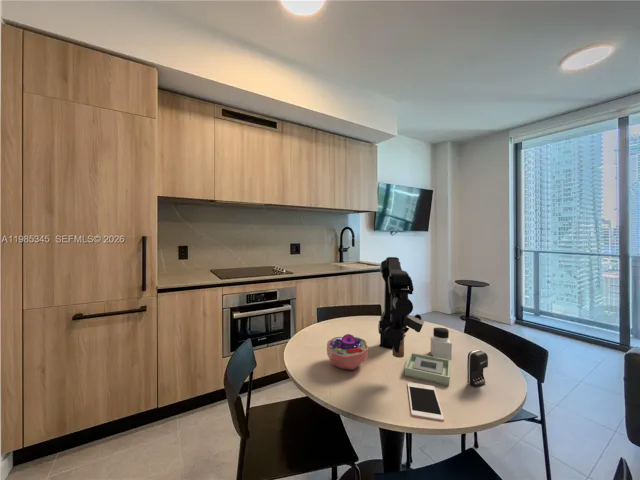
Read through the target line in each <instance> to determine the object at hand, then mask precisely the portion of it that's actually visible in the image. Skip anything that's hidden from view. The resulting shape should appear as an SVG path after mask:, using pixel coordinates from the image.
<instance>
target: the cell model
mask: <svg viewBox="0 0 640 480" xmlns="http://www.w3.org/2000/svg"><path fill="white" fill-rule="evenodd" d="M369 348H370V347H369V346H368V344H367V341H366V340H365V339H363V338H360V337H359V336H358V337H357V336H354V335H352V334H349V333H348V334H347V333H346V334H344V335H343V336H336V337H333V338H330V339H329V340H327V344H326V354H327V356H328V359H329V360H330V362H331V363H332V364H333V365H334V366H336V368H339V369H342V370H355V369H357V368H358V367H359V366H360V365H361V364H363V363H364V362H365V361H366V360H367V359H368V355H369Z"/></svg>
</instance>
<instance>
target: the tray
mask: <svg viewBox="0 0 640 480" xmlns="http://www.w3.org/2000/svg"><path fill="white" fill-rule="evenodd" d="M404 376H405V377H409V378H413V379H418V380H421V381H426V382H430V383H435V384H439V385H442V386H448V387H449V386H450V379H451V360H448V359H442V358H437V357H433V356H432V355H426V354H422V353H415V352H410V354H409V356H408V359H407V362H406V364H405V366H404Z"/></svg>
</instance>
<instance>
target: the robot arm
mask: <svg viewBox="0 0 640 480" xmlns="http://www.w3.org/2000/svg"><path fill="white" fill-rule="evenodd" d="M379 266H380V267H379V269H380V270H379V272H380V274H381V277H382V279H383V280H384V297H383V298H384V299H383V300H384V301H383V304H384V306H383V311H382V313H381V315H380V319H379V320H378V326H377V328H378V329H377V330H378V334H380V335H379V336H380V340H379V344H378V345H379V346H378V347H379V348H380V347H381V348H385V349H391V350H393V348H394V350H395V352H396V353H399V349H400V343H401V340H403V339H404V340H405V338H406V333H408V332H409V331H410V330H409V329H412V330H414V331H415V332H416V333H421V331H422V328H423V326H424V323H425V321H424V320H423V318H422V315H421V314H419V313H416V314H415V315H413V314H412V315H411V313H412V312H413V310H414V304H413V302H412V301H411V300H410V299H409V295H413V292H414V285H413V280H412V277H411V276H410V275H409V273H408V272H407V271H405V270H403V269H402V267H401V262H400V259H399V257H397V256H388V257H386V258H385V259H384V260H383V261H381V262H380V265H379Z"/></svg>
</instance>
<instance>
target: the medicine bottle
mask: <svg viewBox="0 0 640 480" xmlns="http://www.w3.org/2000/svg"><path fill="white" fill-rule="evenodd" d="M449 331H450V330H449V329H448V328H446V327H442V326H436V327H434V328H433V335H431V336H430V349H429V350H430V353H431V356H432V357H437V358H442V359H448V360H450V361H451V360H452V345H453V344H452V342H451V341H450V339H449V335H450V334H449Z"/></svg>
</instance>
